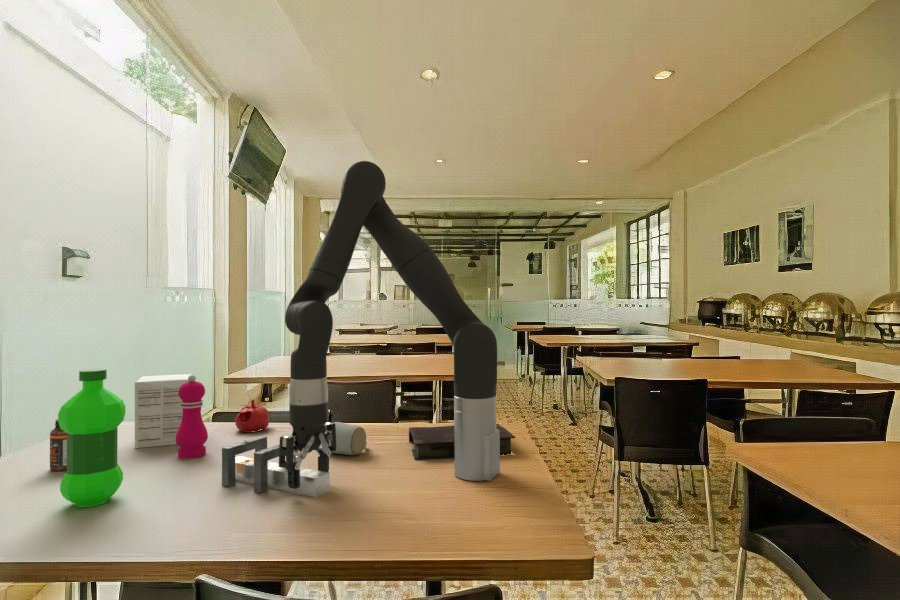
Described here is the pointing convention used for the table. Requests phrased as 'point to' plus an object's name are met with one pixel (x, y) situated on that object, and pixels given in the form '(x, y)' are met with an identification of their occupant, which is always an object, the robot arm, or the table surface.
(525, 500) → the table surface
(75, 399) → the plastic bottle
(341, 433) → the ceramic mug
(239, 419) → the pomegranate
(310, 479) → the orange banded bar
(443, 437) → the diary
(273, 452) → the collar
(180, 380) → the supplement box
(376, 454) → the table surface
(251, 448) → the collar
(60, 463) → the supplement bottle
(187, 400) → the pepper mill
